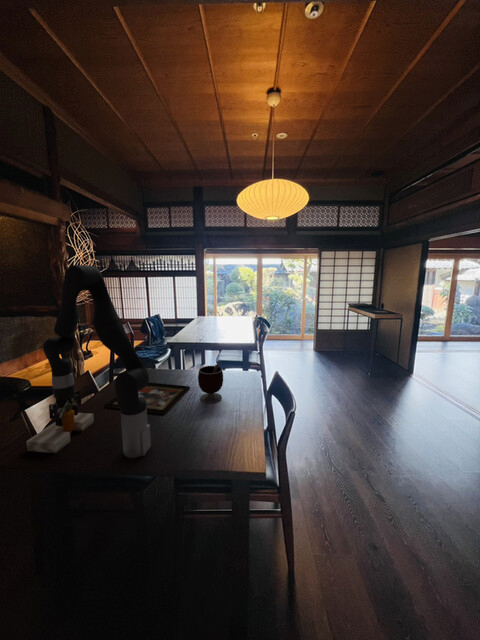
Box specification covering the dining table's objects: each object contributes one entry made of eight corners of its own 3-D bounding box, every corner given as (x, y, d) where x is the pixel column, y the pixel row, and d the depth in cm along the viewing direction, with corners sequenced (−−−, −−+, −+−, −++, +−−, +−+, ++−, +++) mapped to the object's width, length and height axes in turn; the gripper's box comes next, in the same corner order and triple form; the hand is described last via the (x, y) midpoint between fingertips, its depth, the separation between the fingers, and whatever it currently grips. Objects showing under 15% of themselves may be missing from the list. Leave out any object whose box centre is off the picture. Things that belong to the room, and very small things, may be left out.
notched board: (94, 421, 120) (93, 413, 119) (55, 453, 98) (54, 443, 97) (70, 420, 121) (69, 412, 120) (27, 450, 99) (26, 441, 99)
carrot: (61, 435, 109) (57, 402, 107) (74, 430, 113) (71, 398, 110) (63, 440, 106) (60, 406, 103) (77, 435, 109) (74, 402, 107)
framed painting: (191, 386, 160) (191, 382, 160) (171, 416, 126) (171, 411, 125) (134, 384, 164) (134, 380, 163) (99, 413, 129) (98, 408, 129)
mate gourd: (211, 407, 134) (210, 370, 130) (193, 399, 142) (192, 365, 139) (230, 396, 146) (230, 363, 143) (212, 390, 154) (212, 358, 151)
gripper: (58, 391, 98) (62, 430, 101) (84, 377, 112) (87, 412, 115) (40, 391, 99) (45, 429, 101) (68, 377, 113) (72, 411, 115)
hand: (67, 420), depth 108 cm, fingers open, 8 cm apart
